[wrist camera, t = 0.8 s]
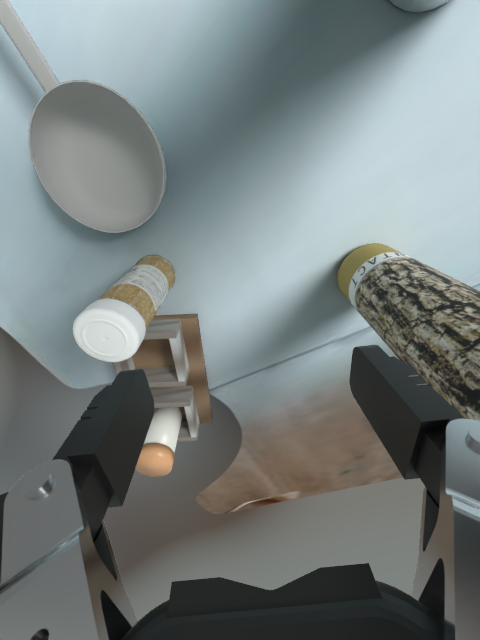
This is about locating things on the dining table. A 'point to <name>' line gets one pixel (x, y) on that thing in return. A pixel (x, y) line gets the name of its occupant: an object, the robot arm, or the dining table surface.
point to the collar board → (175, 369)
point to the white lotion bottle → (160, 442)
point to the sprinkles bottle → (124, 311)
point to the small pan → (90, 145)
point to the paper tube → (420, 319)
